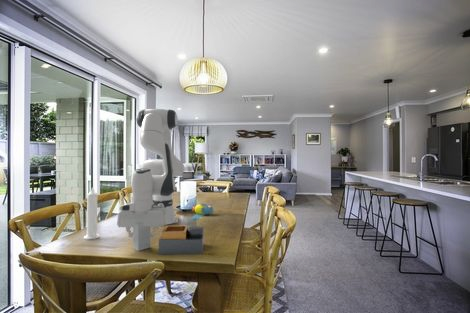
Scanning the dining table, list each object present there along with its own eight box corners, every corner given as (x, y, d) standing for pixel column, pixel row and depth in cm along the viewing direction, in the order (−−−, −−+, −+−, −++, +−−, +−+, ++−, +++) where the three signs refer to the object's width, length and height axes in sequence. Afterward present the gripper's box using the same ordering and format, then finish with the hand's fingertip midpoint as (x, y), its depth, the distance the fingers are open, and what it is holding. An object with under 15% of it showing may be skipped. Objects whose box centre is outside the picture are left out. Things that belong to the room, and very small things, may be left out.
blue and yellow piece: (198, 199, 195) (217, 200, 192) (197, 211, 195) (217, 212, 192) (185, 206, 167) (207, 207, 165) (184, 219, 167) (207, 221, 165)
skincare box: (145, 245, 116) (145, 219, 116) (150, 247, 114) (150, 220, 114) (132, 249, 112) (133, 221, 112) (137, 251, 109) (138, 223, 109)
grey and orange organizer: (164, 244, 117) (164, 225, 117) (203, 244, 119) (203, 224, 119) (158, 254, 105) (158, 232, 105) (202, 253, 107) (202, 232, 107)
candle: (85, 236, 129) (85, 186, 129) (100, 234, 132) (101, 186, 132) (82, 240, 123) (82, 188, 123) (98, 238, 125) (99, 187, 125)
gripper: (167, 203, 117) (167, 234, 117) (121, 204, 115) (120, 234, 115) (164, 206, 110) (164, 238, 110) (115, 206, 109) (115, 239, 109)
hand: (141, 236), depth 113 cm, fingers open, 8 cm apart
